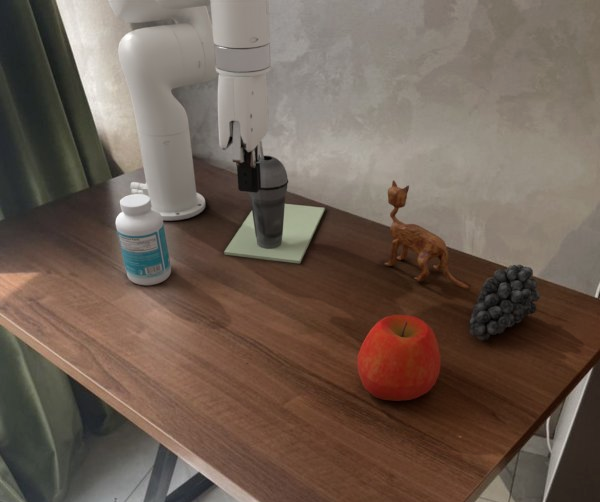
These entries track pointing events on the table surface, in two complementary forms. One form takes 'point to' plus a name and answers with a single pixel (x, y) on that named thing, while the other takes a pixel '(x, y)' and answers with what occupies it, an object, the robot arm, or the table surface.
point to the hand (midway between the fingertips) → (249, 189)
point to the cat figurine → (416, 239)
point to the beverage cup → (269, 202)
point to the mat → (294, 239)
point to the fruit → (504, 301)
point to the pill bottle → (142, 241)
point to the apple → (399, 359)
